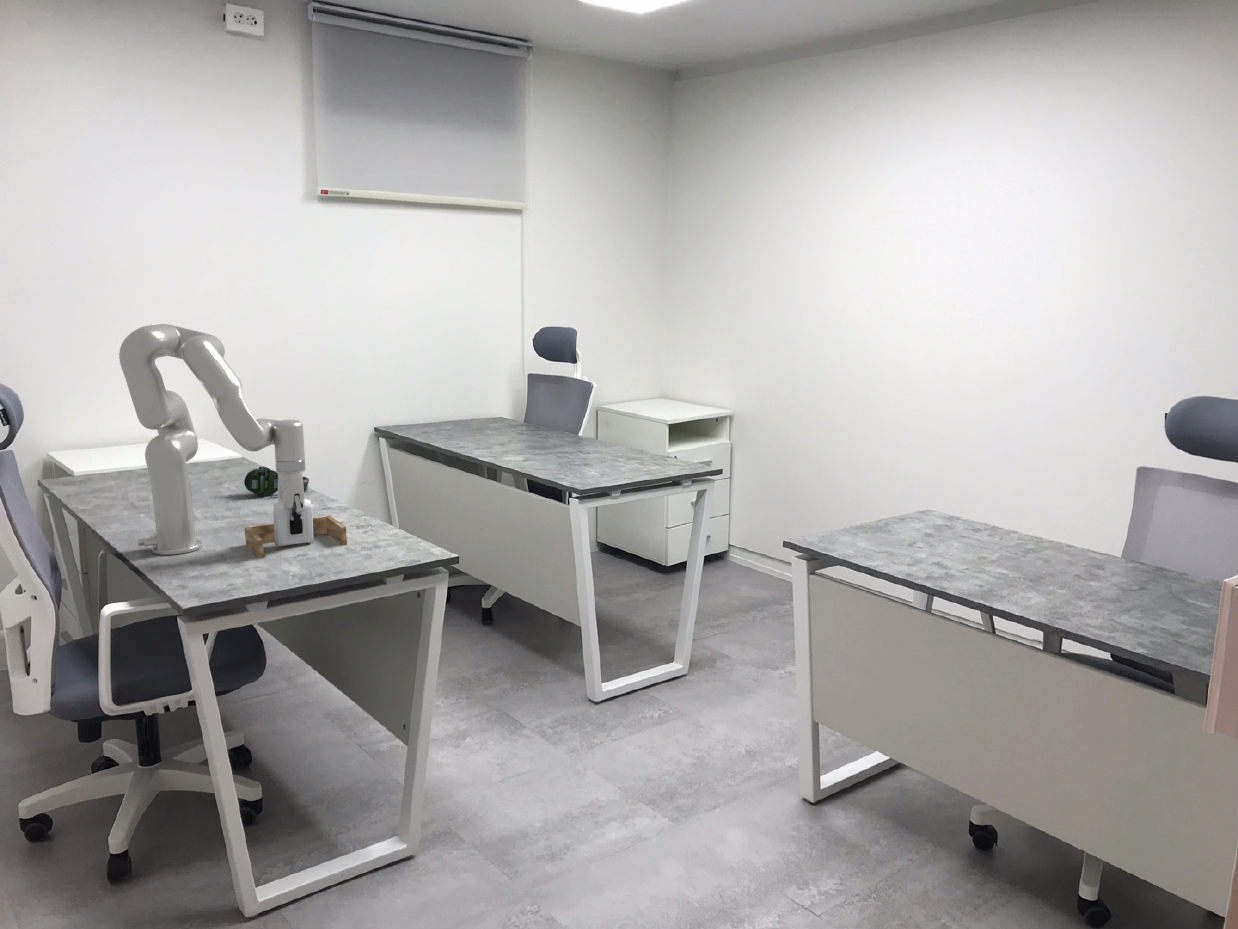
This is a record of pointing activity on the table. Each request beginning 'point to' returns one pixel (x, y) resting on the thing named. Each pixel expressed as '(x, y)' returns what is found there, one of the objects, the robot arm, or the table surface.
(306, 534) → the photo printer
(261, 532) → the open box
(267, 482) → the headphones
